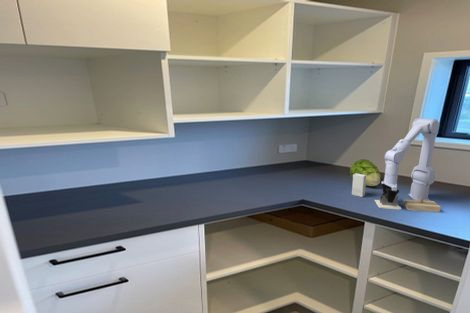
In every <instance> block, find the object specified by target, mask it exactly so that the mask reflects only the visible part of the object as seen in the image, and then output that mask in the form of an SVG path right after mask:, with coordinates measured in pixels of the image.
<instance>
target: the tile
mask: <svg viewBox="0 0 470 313" xmlns="http://www.w3.org/2000/svg"><path fill="white" fill-rule="evenodd" d="M374 202H375V203H376V205H377V206H378V208H379V209H388V210H390V209H391V210H402V207H401V206H400V205H399V204H398V203H397V206H389V205H382V204H381V203H380V199H374Z"/></svg>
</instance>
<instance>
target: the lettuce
mask: <svg viewBox="0 0 470 313" xmlns="http://www.w3.org/2000/svg"><path fill="white" fill-rule="evenodd" d="M355 173H357V174H363V175H366V187H374V186H378V185H379V184H381V172H380V170H379V168H378V167H377V166H376V164H375V163H373V162H372V161H370V160H368V159H366V158H365V159H364V158H363V159H357V160H356V161H355V162H353V163H352V165H351V166H350V168H349V174H350V178H351V179H352V180H353V175H354V174H355Z"/></svg>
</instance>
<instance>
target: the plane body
mask: <svg viewBox="0 0 470 313" xmlns="http://www.w3.org/2000/svg"><path fill="white" fill-rule="evenodd" d="M423 199H424V198H421V199H420V200H414V199H407V198H403V201H402V205H403V207H404V208H405V209H406V210H407V211H416V212H417V211H418V212H429V213H430V212H431V213H440V212H441V206H440V205H439V204H438V203H436V202H435V201H433V200H431V201H423Z"/></svg>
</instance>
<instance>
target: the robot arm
mask: <svg viewBox="0 0 470 313" xmlns="http://www.w3.org/2000/svg"><path fill="white" fill-rule="evenodd" d="M411 124H412V125H411V129H410V130H409V132H407V134H406V136H405V137H404V138H401V139H400V140H398V141H397V143H396V144H395V145H394V146H393V147H392V149H389V150H387V151H386V152H385V153H384V156H383V157H384V163H385V169H384V170H385V171H384V178H383V180H382V181H380V185H381V188H382V192H383V193H387V195H388V202H390V203H393V201H394V199H395V197H396V195H397V196H398V193H400V189H398V178H399V169H400V163H401V162H403V160H404V156H405V153H406V152H407V151H408V150H409V149H410V148H411V146H412V145H411V143H412V142H413V141H414V140H415V139H416V138H417V137H418V136H419V135H420V134H421V135H422V136H423V138H422V144H421V150H420V156H419V161H418V165H416V166H414V167H413V169H412V171H411V174H410V178H411V179H412V183H411V185H410V191H409V193H407V195H408V196H409V197H410V198H411V200H420V199H421V198H424V199H423V201H432V200H430V199H429V192H430V185H433V183H434V182H435V180H436V170H435V169H434V168H433V167H432V166H431V165H432V159H433V153H434V148H435V143H436V136H437V135H438V133H439V129H440V125H441V124H440V122H439V121H438V119H436V118H434V119H432V118H424V117H423V118H421V117H417V118H415V119H414V121H413V122H412V123H411Z"/></svg>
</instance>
